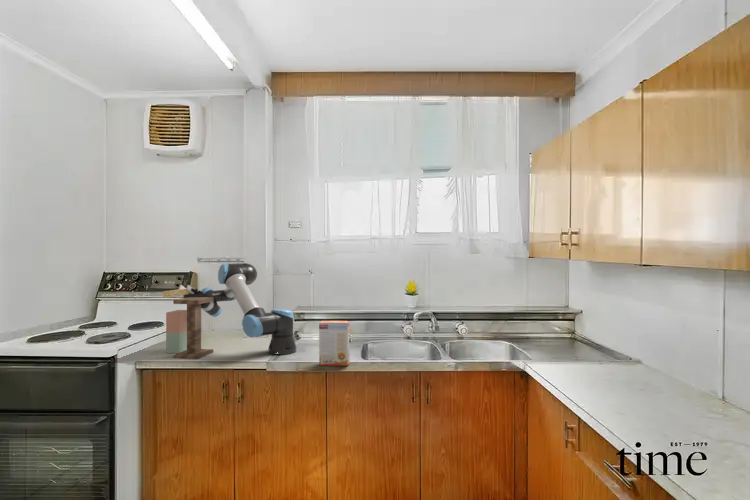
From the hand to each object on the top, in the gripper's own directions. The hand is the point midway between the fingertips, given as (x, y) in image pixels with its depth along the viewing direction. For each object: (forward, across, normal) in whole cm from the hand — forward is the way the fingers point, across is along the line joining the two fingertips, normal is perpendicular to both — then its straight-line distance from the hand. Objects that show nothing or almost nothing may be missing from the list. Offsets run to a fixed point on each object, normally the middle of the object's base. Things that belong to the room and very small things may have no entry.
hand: (183, 287), depth 223 cm
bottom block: (-14, 0, -33) cm, 35 cm away
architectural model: (-46, -88, -15) cm, 100 cm away
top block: (-8, 0, -23) cm, 25 cm away
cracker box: (-2, -93, -39) cm, 101 cm away
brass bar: (+1, 0, -5) cm, 5 cm away
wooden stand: (-8, -14, -36) cm, 40 cm away
